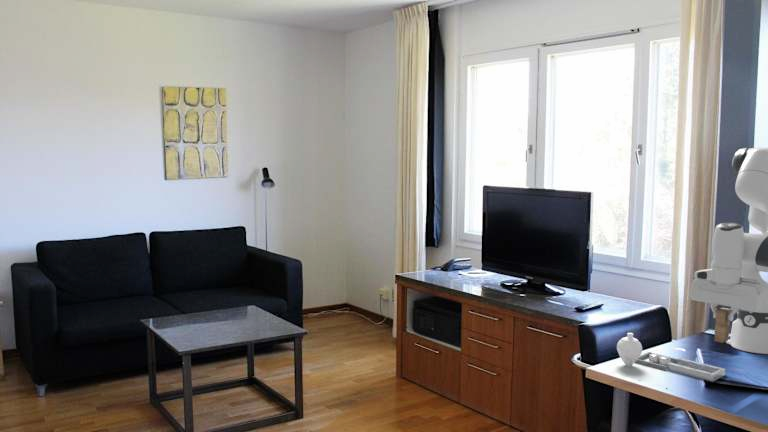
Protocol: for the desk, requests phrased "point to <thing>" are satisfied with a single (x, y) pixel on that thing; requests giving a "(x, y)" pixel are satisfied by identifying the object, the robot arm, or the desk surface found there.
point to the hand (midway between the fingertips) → (723, 319)
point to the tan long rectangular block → (722, 325)
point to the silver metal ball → (664, 360)
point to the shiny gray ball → (654, 358)
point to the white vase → (629, 349)
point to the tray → (653, 363)
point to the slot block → (697, 369)
